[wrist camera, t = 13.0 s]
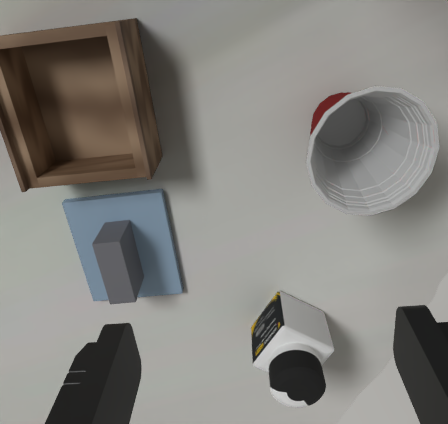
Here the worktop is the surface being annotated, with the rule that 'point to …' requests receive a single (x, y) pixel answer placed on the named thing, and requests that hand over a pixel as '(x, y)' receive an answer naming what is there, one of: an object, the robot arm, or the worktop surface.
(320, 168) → the plastic cup
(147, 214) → the cover plate
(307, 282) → the worktop surface
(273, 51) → the worktop surface
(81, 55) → the wooden box
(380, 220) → the worktop surface
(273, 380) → the medicine bottle
